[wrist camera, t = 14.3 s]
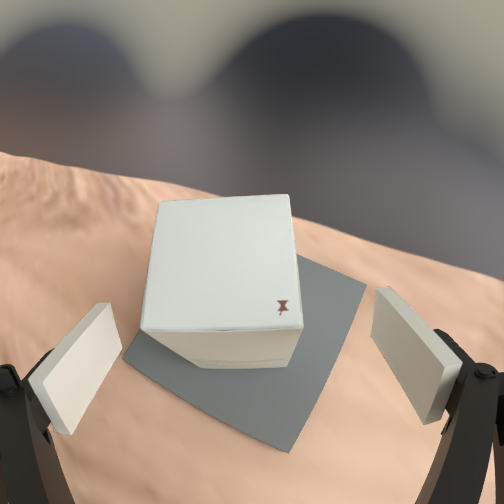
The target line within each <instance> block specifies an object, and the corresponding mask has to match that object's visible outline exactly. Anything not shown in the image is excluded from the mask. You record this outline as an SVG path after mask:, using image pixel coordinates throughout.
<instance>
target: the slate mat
mask: <svg viewBox="0 0 504 504" xmlns="http://www.w3.org/2000/svg"><path fill="white" fill-rule="evenodd" d="M296 256H297V264H298V273H299V282H300V292H301V302H302V313H303V324H304V327H303V330H302V332H301V335H300V337H299V339H298V342H297V344H296V347H295V349H294V351H293V354H292V356H291V358H290V361H289V363H288V365H287V367H279V368H256V369H204V368H200V367H198V366H196V365H195V364H193V363H192V362H190V361H188V360H187V359H185V358H183V357H182V356H180V355H179V354H177V353H175V352H174V351H172V350H171V349H169V348H168V347H166V346H164V345H163V344H161V343H160V342H158V341H157V340H155V339H154V338H152V337H151V336H149V335H148V334H147V333H145V332H144V331H142V330H141V329H140V330H139V332H138V334H137V335H136V337H135V339H134V340H133V342H132V343H131V345H130V347H129V348H128V350H127V352H126V353H125V355H124V357H123V358H122V359H123V360H125V361H126V362H127V363H129V364H130V365H132V366H133V367H134V368H136V369H137V370H139V371H140V372H142V373H143V374H144V375H146V376H147V377H149V378H150V379H152V380H153V381H155V382H156V383H158V384H159V385H161V386H163V387H164V388H166V389H167V390H169V391H170V392H172V393H174V394H175V395H177V396H178V397H180V398H182V399H183V400H185V401H187V402H188V403H190V404H192V405H193V406H195V407H197V408H199V409H200V410H202V411H204V412H206V413H207V414H209V415H211V416H213V417H215V418H216V419H218V420H220V421H222V422H224V423H226V424H228V425H230V426H231V427H233V428H235V429H237V430H239V431H241V432H243V433H245V434H247V435H249V436H251V437H253V438H256V439H258V440H260V441H262V442H264V443H266V444H268V445H271V446H273V447H275V448H277V449H280V450H282V451H284V452H287V453H289V452H290V450H291V448H292V447H293V445H294V443H295V441H296V440H297V438H298V436H299V434H300V432H301V430H302V429H303V427H304V425H305V423H306V421H307V419H308V417H309V415H310V413H311V411H312V409H313V408H314V406H315V404H316V402H317V400H318V398H319V395H320V393H321V391H322V389H323V387H324V385H325V383H326V381H327V379H328V377H329V375H330V372H331V370H332V368H333V366H334V364H335V361H336V359H337V357H338V355H339V352H340V350H341V348H342V346H343V343H344V341H345V339H346V336H347V334H348V331H349V329H350V327H351V324H352V322H353V319H354V317H355V314H356V312H357V309H358V306H359V304H360V301H361V299H362V296H363V293H364V291H365V288H366V284H364V283H362V282H359V281H357V280H355V279H353V278H350V277H348V276H346V275H343V274H341V273H339V272H337V271H334V270H332V269H330V268H327V267H325V266H323V265H321V264H318V263H316V262H314V261H311V260H309V259H307V258H304V257H302V256H300V255H298V254H296Z"/></svg>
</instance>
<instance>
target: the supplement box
mask: <svg viewBox="0 0 504 504" xmlns="http://www.w3.org/2000/svg"><path fill="white" fill-rule="evenodd" d="M303 327H304V324H303V313H302V302H301V292H300V282H299V273H298V264H297V256H296V247H295V239H294V232H293V224H292V217H291V209H290V200H289V195H287V194H278V195H257V196H240V197H239V196H237V197H219V198H204V199H190V200H176V201H163V202H159V205H158V211H157V216H156V222H155V228H154V234H153V240H152V247H151V253H150V259H149V265H148V271H147V277H146V283H145V290H144V297H143V305H142V312H141V319H140V329H141V330H142V331H144V332H145V333H147V334H148V335H149V336H151V337H152V338H154V339H155V340H157V341H158V342H160V343H161V344H163V345H164V346H166V347H168V348H169V349H171V350H172V351H174V352H175V353H177V354H179V355H180V356H182V357H183V358H185V359H187V360H188V361H190V362H192V363H193V364H195V365H196V366H198V367H200V368H204V369H256V368H279V367H287V365H288V363H289V361H290V358H291V356H292V354H293V351H294V349H295V347H296V344H297V342H298V339H299V337H300V335H301V332H302V330H303Z"/></svg>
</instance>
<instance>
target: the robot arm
mask: <svg viewBox="0 0 504 504" xmlns="http://www.w3.org/2000/svg"><path fill="white" fill-rule="evenodd" d="M371 337H372V339H373V341H374V342H375V344H376V345H377V347H378V349H379V350H380V352H381V353H382V355H383V357H384V358H385V360H386V362H387V363H388V365H389V367H390V368H391V370H392V372H393V373H394V375H395V377H396V378H397V380H398V382H399V383H400V385H401V387H402V388H403V390H404V392H405V393H406V395H407V397H408V399H409V400H410V402H411V404H412V406H413V407H414V409H415V411H416V413H417V414H418V416H419V418H420V420H421V421H422V423H423V425H426V424H429V423H432V422H435V421H439V420H441V417H442V415H443V413H444V410H445V409H446V410H447V412H448V413H449V415H450V416H449V418H448V420H447V422H446V424H445V426H444V429H443V431H442V433H441V435H442V438H441V441H440V444H439V447H438V450H437V453H436V455H435V458H434V461H433V463H432V466H431V468H430V471H429V473H428V476H427V478H426V480H425V483H424V485H423V487H422V489H421V492H420V494H419V496H418V498H417V500H416V502H415V504H478V503H479V499H480V496H481V492H482V489H483V485H484V481H485V477H486V472H487V468H488V463H489V458H490V453H491V448H492V442H493V450H494V463H495V484H496V504H504V372H501V373H498V371H497V370H496V369H495V368H494V367H493V366H491V365H489V364H486V363H475V362H474V361H473V360H472V359H471V358H470V357H469V356H468V355H467V353H466V352H465V351H464V350H463V349H462V348H461V347H459V345H458V344H457V343H456V342H454V340H453V339H452V338H451V337H450V336H449V335H448V334H447V333H445V332H443V331H441V330H440V329H434V330H432V329H431V328H430V327H429V325H428V324H427V323H426V322H425V321H424V320H423V319H422V318H421V317H420V316H419V315H418V314H417V313H416V312H415V311H414V310H413V309H412V308H411V307H410V306H409V305H408V304H407V303H406V302H405V301H404V300H403V299H402V298H401V297H400V296H399V295H398V294H397V293H396V292H395V291H394V290H393V289H392V288H391V287H390V286H388V287H379V288H376V295H375V305H374V314H373V323H372V331H371ZM122 349H123V348H122V345H121V341H120V338H119V334H118V331H117V327H116V323H115V320H114V316H113V312H112V308H111V304H110V303H97V304H96V305H95V306H94V307H93V308H92V309H91V310H90V311H89V312H88V313H87V314H86V315H85V316H84V317H83V318H82V319H81V320H80V321H79V323H78V324H77V325H76V326H75V327H74V328H73V329H72V330H71V331H70V332H69V333H68V334H67V335H66V336H65V338H64V339H63V340H62V341H61V342H60V343H59V344H58V345H57V346H56V347H55V348H53V349H52V350H50V351H49V352H47V353H46V354H45V355H44V356H43V357H42V358H41V359H40V361H38V363H37V364H36V365H35V367H33V368H32V369H31V371H30V372H29V373H28V374H27V375H26V376H25V377H24V379H23V380H22V381H21V380H20V378H19V376H18V374H17V372H16V369H15V367H14V366H13V365H11V364H4V365H0V504H8V502H9V504H75V502H74V500H73V497H72V495H71V492H70V490H69V487H68V485H67V482H66V480H65V477H64V474H63V471H62V468H61V465H60V462H59V459H58V456H57V453H56V450H55V447H54V443H53V440H52V436H51V433H50V432H49V430H48V428H47V427H48V426H49V424H50V422H51V423H52V425H53V426H54V428H55V430H56V431H57V432H59V433H62V434H66V435H70V436H72V434H73V432H74V431H75V429H76V427H77V425H78V423H79V422H80V420H81V418H82V416H83V414H84V413H85V411H86V409H87V407H88V406H89V404H90V402H91V400H92V399H93V397H94V395H95V394H96V392H97V390H98V388H99V387H100V385H101V383H102V382H103V380H104V378H105V377H106V375H107V373H108V372H109V370H110V368H111V367H112V365H113V363H114V362H115V360H116V358H117V357H118V355H119V354H120V352H121V350H122Z"/></svg>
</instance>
